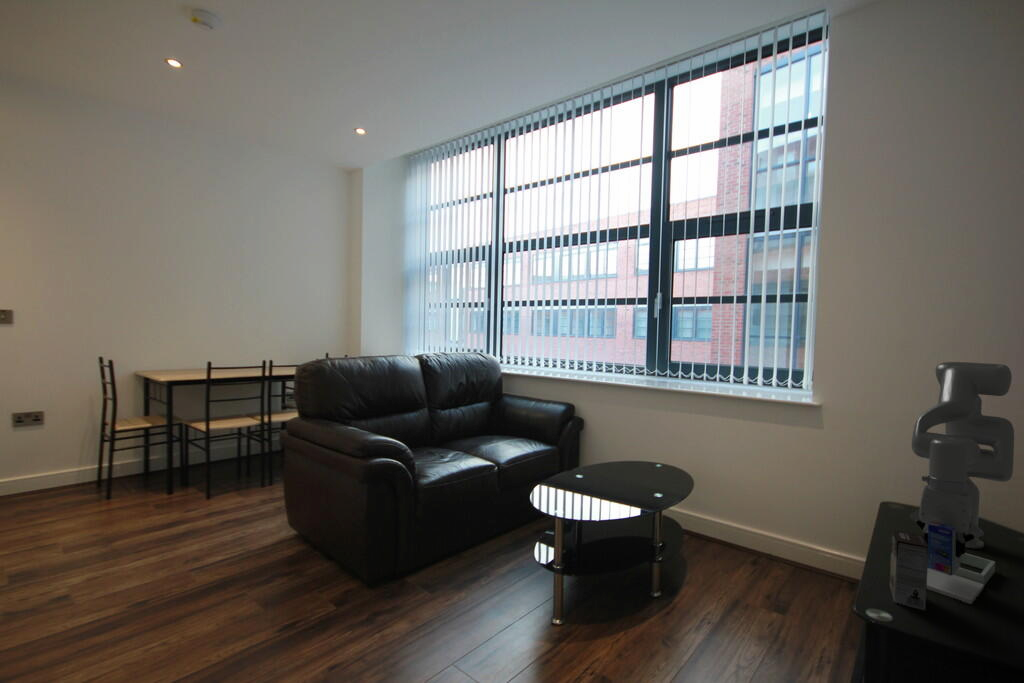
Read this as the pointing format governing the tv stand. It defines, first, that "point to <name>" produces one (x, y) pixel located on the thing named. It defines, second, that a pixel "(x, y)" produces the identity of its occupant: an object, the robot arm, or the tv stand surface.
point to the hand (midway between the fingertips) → (943, 550)
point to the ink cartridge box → (942, 549)
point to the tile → (953, 586)
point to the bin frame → (977, 562)
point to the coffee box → (909, 568)
